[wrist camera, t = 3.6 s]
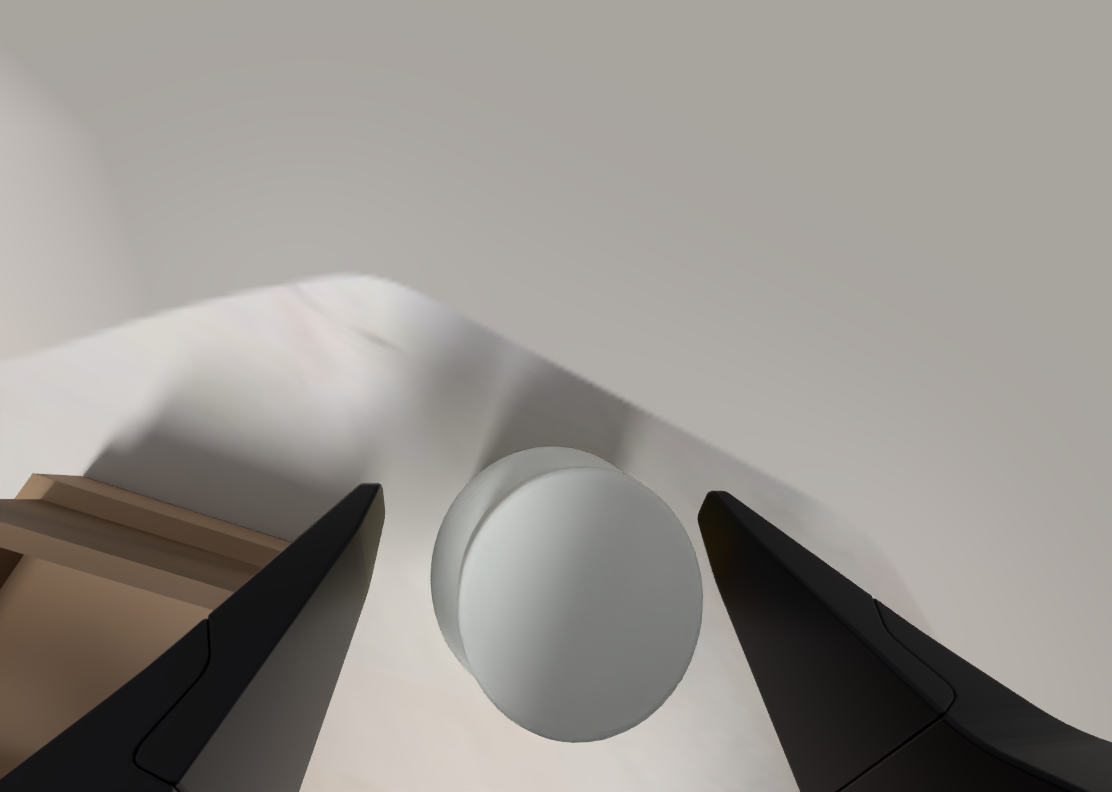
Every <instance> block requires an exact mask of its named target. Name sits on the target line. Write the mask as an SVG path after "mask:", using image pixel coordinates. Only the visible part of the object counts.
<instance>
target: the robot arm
mask: <svg viewBox="0 0 1112 792" xmlns="http://www.w3.org/2000/svg"><path fill="white" fill-rule="evenodd" d="M384 519H385V505H384V496H383V488H382V485H381V484H379V483H361V484H359V485H358V486H357V487H356V488H355V489H353V490H352V491H351V492H350V493H349V494H348V495H346V496H345V497H344V498H343V499H342V500H341V501H339V502H338V503H337V504H336V505H335V506H334V507H333V508H331V509H330V510H329V511H328V512H327V513H326V514H324V515H323V516H322V517H321V518H320V519H319V520H317V521H316V522H315V523H314V524H313V525H312V526H311V527H309V528H308V529H307V530H306V531H305V532H304V533H302V534H301V535H300V536H299V537H298V538H297V539H295V540H294V541H293V542H292V543H291V544H290V545H288V546H287V547H286V548H285V549H284V550H283V551H282V552H280V553H279V554H278V555H277V556H276V557H275V558H273V559H272V560H271V561H270V562H269V563H268V564H266V565H265V566H264V567H263V568H262V569H261V570H259V571H258V572H257V573H256V574H255V575H254V576H253V577H251V578H250V579H249V580H248V581H247V582H246V583H244V584H243V585H242V586H241V587H240V588H239V589H237V590H236V591H235V592H234V593H233V594H232V595H231V596H229V597H228V598H227V599H226V600H225V601H224V602H222V603H221V604H220V605H219V606H218V607H217V608H215V609H214V610H213V611H212V612H211V613H210V614H209V615H208V619H206V618H205V619H203V620H201V621H200V622H199V623H198V624H197V625H195V626H194V627H193V628H192V629H191V630H190V631H189V632H187V633H186V634H185V635H184V636H183V637H182V638H180V639H179V640H178V641H177V642H176V643H174V644H173V645H172V646H171V647H170V648H168V649H167V650H166V651H165V652H164V653H162V654H161V655H160V656H159V657H158V658H156V659H155V660H154V661H153V662H152V663H150V664H149V665H148V666H147V667H146V668H144V669H143V670H142V671H141V672H139V673H138V674H137V675H135V676H134V677H133V678H132V679H130V680H129V681H128V682H126V683H125V684H124V685H123V686H121V687H120V688H119V689H118V690H116V691H115V692H114V693H112V694H111V695H110V696H109V697H107V698H106V699H105V700H103V701H102V702H101V703H100V704H98V705H97V706H96V707H94V708H93V709H92V710H90V711H89V712H88V713H87V714H85V715H84V716H83V717H81V718H80V719H79V720H77V721H76V722H75V723H73V724H72V725H71V726H69V727H68V728H67V729H65V730H64V731H63V732H61V733H60V734H59V735H58V736H56V737H55V738H54V739H52V740H51V741H50V742H48V743H47V744H46V745H44V746H43V747H42V748H40V749H39V750H38V751H36V752H35V753H34V754H32V755H31V756H30V757H29V758H27V759H26V760H25V761H23V762H22V763H21V764H19V765H18V766H17V767H15V768H14V769H13V770H11V771H10V772H9V773H7V774H6V775H5V776H3V777H2V778H1V779H0V792H299V790H300V787H301V784H302V781H303V779H304V776H305V773H306V770H307V767H308V764H309V761H310V758H311V755H312V753H313V750H314V747H315V744H316V741H317V738H318V735H319V732H320V729H321V727H322V724H323V721H324V718H325V715H326V712H327V709H328V706H329V703H330V701H331V698H332V695H333V692H334V689H335V686H336V683H337V680H338V677H339V675H340V672H341V669H342V666H343V663H344V660H345V657H346V654H347V651H348V649H349V646H350V643H351V640H352V637H353V634H354V631H355V628H356V625H357V623H358V620H359V617H360V614H361V611H362V608H363V605H364V602H365V599H366V596H367V593H368V590H369V586H370V582H371V578H372V574H373V569H374V564H375V560H376V555H377V551H378V546H379V542H380V537H381V533H382V528H383V524H384ZM698 524H699V528H700V531H701V535H702V538H703V542H704V545H705V548H706V552H707V555H708V559H709V562H710V565H711V569H712V572H713V575H714V578H715V581H716V584H717V587H718V589H719V592H720V594H721V597H722V599H723V602H724V604H725V607H726V609H727V612H728V614H729V617H730V619H731V622H732V624H733V627H734V629H735V632H736V634H737V637H738V639H739V641H740V644H741V646H742V649H743V651H744V654H745V656H746V659H747V661H748V664H749V666H750V669H751V671H752V674H753V676H754V679H755V681H756V684H757V686H758V689H759V691H760V693H761V696H762V698H763V701H764V703H765V706H766V708H767V711H768V713H769V716H770V718H771V721H772V723H773V726H774V728H775V731H776V733H777V736H778V738H779V740H780V743H781V745H782V748H783V750H784V753H785V755H786V758H787V760H788V763H789V765H790V768H791V770H792V773H793V775H794V778H795V780H796V783H797V785H798V788H799V790H800V792H1112V742H1109V741H1106V740H1103V739H1100V738H1098V737H1095V736H1093V735H1090V734H1088V733H1085V732H1083V731H1081V730H1079V729H1076V728H1074V727H1072V726H1070V725H1068V724H1065V723H1064V722H1062V721H1060V720H1058V719H1057V718H1055V717H1053V716H1051V715H1049V714H1048V713H1046V712H1044V711H1043V710H1041V709H1040V708H1038V707H1036V706H1035V705H1033V704H1032V703H1030V702H1029V701H1027V700H1026V699H1024V698H1022V697H1021V696H1019V695H1018V694H1016V693H1015V692H1013V691H1012V690H1010V689H1009V688H1007V687H1005V686H1004V685H1002V684H1001V683H999V682H998V681H996V680H995V679H993V678H992V677H990V676H989V675H987V674H986V673H984V672H982V671H981V670H979V669H978V668H976V667H975V666H973V665H972V664H970V663H969V662H967V661H966V660H964V659H962V658H961V657H959V656H958V655H956V654H955V653H953V652H952V651H950V650H949V649H947V648H946V647H944V646H943V645H941V644H940V643H938V642H937V641H935V640H934V639H932V638H931V637H929V636H928V635H926V634H925V633H923V632H922V631H920V630H919V629H918V628H916V627H915V626H913V625H912V624H910V623H909V622H908V621H906V620H905V619H903V618H902V617H900V616H899V615H898V614H896V613H895V612H893V611H892V610H891V609H889V608H888V607H886V606H885V605H884V604H882V603H881V602H880V601H878V600H877V599H873V598H872V596H871V595H870V594H868V593H867V592H866V591H864V590H863V589H861V588H860V587H859V586H857V585H856V584H854V583H853V582H852V581H850V580H849V579H847V578H846V577H845V576H843V575H842V574H840V573H839V572H838V571H836V570H835V569H834V568H832V567H831V566H829V565H828V564H827V563H825V562H824V561H822V560H821V559H820V558H818V557H817V556H815V555H814V554H813V553H811V552H810V551H809V550H807V549H806V548H804V547H803V546H802V545H800V544H799V543H797V542H796V541H795V540H793V539H792V538H790V537H789V536H788V535H786V534H785V533H784V532H782V531H781V530H779V529H778V528H777V527H775V526H774V525H772V524H771V523H770V522H768V521H767V520H765V519H764V518H763V517H761V516H760V515H758V514H757V513H756V512H754V511H753V510H752V509H750V508H749V507H747V506H746V505H745V504H743V503H742V502H740V501H739V500H738V499H736V498H735V497H733V496H732V495H731V494H729V493H728V492H726V491H710V492H708V493H707V495H706V497H705V499H704V502H703V504H702V506H701V508H700V511H699V513H698Z"/></svg>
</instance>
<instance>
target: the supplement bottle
mask: <svg viewBox="0 0 1112 792" xmlns="http://www.w3.org/2000/svg"><path fill="white" fill-rule="evenodd" d="M431 592H432V601H433V606H434V611H435V615H436V618H437V621H438V624H439V627H440V630H441V632H442V634H443V636H444V639H445V641H446V643H447V644H448V646H449V648H450V649H451V651H452V652H453V654H454V655H455V657H456V658H457V659H458V661H459V662H460V663H461V664H462V666H463V667H464V668H465V669H466V670H467V671H468V672H469V673H470V674H471V675H473V676H474V677H475V678H476V680H477V682H478V683H479V685H480V687H481V688H482V690H483V691H484V693H485V694H486V695H487V697H488V698H489V699H490V700H491V702H492V703H493V704H494V705H495V706H496V707H497V708H498V709H499V710H500V711H501V712H502V713H503V714H504V715H505V716H506V717H508V718H509V719H510V720H512V721H513V722H515V723H516V724H518V725H519V726H521V727H523V728H525V729H527V730H528V731H530V732H533V733H535V734H537V735H539V736H542V737H545V738H548V739H551V740H556V741H562V742H572V743H575V742H592V741H598V740H603V739H607V738H610V737H612V736H615V735H618V734H620V733H623V732H626V731H627V730H629V729H631V728H633V727H635V726H636V725H638V724H639V723H641V722H642V721H644V720H646V719H647V718H648V717H649V716H650V715H651V714H653V713H654V712H655V711H656V710H657V709H658V708H659V707H660V706H661V705H663V703H664V702H665V701H666V700H667V698H668V697H669V696H670V695H671V694H672V693H673V691H674V690H675V688H676V687H677V685H678V684H679V683H680V681H681V680H682V678H683V676H684V674H685V672H686V670H687V668H688V666H689V664H690V662H691V659H692V656H693V653H694V650H695V647H696V644H697V640H698V637H699V632H700V627H701V621H702V601H703V594H702V580H701V574H700V569H699V565H698V561H697V557H696V554H695V551H694V548H693V546H692V544H691V541H690V539H689V537H688V535H687V533H686V531H685V529H684V527H683V525H682V524H681V522H680V521H679V519H678V518H677V516H676V515H675V514H674V513H673V511H672V510H671V509H670V508H669V507H668V505H667V504H666V503H665V502H664V501H663V500H662V499H661V498H660V497H659V496H658V495H657V494H656V493H654V492H653V491H652V490H650V489H649V488H647V487H646V486H644V485H643V484H641V483H640V482H638V481H637V480H635V479H633V478H631V477H628V476H626V475H625V474H624V473H623V472H622V471H620V470H619V469H618V468H616V467H615V466H614V465H612V464H610V463H609V462H607V461H606V460H604V459H602V458H600V457H598V456H596V455H593V454H591V453H588V452H585V451H582V450H578V449H573V448H568V447H557V446H549V447H536V448H531V449H526V450H522V451H519V452H516V453H513V454H511V455H508V456H506V457H504V458H502V459H499V460H498V461H496V462H494V463H493V464H491V465H489V466H488V467H486V468H485V469H484V470H482V471H481V472H480V473H479V474H477V475H476V476H475V477H474V478H473V479H472V480H471V481H470V482H469V483H468V484H467V485H466V486H465V487H464V488H463V490H462V491H461V492H460V493H459V494H458V496H457V497H456V499H455V500H454V502H453V503H452V505H451V506H450V508H449V510H448V512H447V514H446V515H445V517H444V520H443V522H442V524H441V527H440V529H439V532H438V535H437V538H436V542H435V546H434V550H433V555H432V563H431Z"/></svg>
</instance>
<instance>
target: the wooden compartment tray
mask: <svg viewBox="0 0 1112 792" xmlns="http://www.w3.org/2000/svg"><path fill="white" fill-rule="evenodd" d="M291 543H292V542H288V541H285V540H282V539H279V538H276V537H273V536H269V535H266V534H263V533H260V532H257V531H253V530H250V529H247V528H244V527H241V526H238V525H234V524H231V523H228V522H225V521H222V520H219V519H215V518H212V517H209V516H206V515H203V514H200V513H196V512H193V511H190V510H187V509H184V508H181V507H177V506H174V505H171V504H168V503H165V502H162V501H158V500H155V499H152V498H149V497H146V496H143V495H139V494H136V493H133V492H130V491H127V490H124V489H120V488H117V487H114V486H111V485H108V484H105V483H101V482H98V481H95V480H92V479H89V478H85V477H82V476H69V475H50V474H32V475H31V477H30V478H29V479H28V481H27V482H26V484H25V485H24V486H23V488H22V489H21V491H20V492H19V493H18V495H17V496H16V498H15V499H0V779H1V778H2V777H3V776H5V775H6V774H7V773H9V772H10V771H11V770H13V769H14V768H15V767H17V766H18V765H19V764H21V763H22V762H23V761H25V760H26V759H27V758H29V757H30V756H31V755H32V754H34V753H35V752H36V751H38V750H39V749H40V748H42V747H43V746H44V745H46V744H47V743H48V742H50V741H51V740H52V739H54V738H55V737H56V736H58V735H59V734H60V733H61V732H63V731H64V730H65V729H67V728H68V727H69V726H71V725H72V724H73V723H75V722H76V721H77V720H79V719H80V718H81V717H83V716H84V715H85V714H87V713H88V712H89V711H90V710H92V709H93V708H94V707H96V706H97V705H98V704H100V703H101V702H102V701H103V700H105V699H106V698H107V697H109V696H110V695H111V694H112V693H114V692H115V691H116V690H118V689H119V688H120V687H121V686H123V685H124V684H125V683H126V682H128V681H129V680H130V679H132V678H133V677H134V676H135V675H137V674H138V673H139V672H141V671H142V670H143V669H144V668H146V667H147V666H148V665H149V664H150V663H152V662H153V661H154V660H155V659H156V658H158V657H159V656H160V655H161V654H162V653H164V652H165V651H166V650H167V649H168V648H170V647H171V646H172V645H173V644H174V643H176V642H177V641H178V640H179V639H180V638H182V637H183V636H184V635H185V634H186V633H187V632H189V631H190V630H191V629H192V628H193V627H194V626H195V625H197V624H198V623H199V622H200V621H201V620H203V619H205V618H206V619H208V615H209V614H210V613H211V612H212V611H213V610H214V609H215V608H217V607H218V606H219V605H220V604H221V603H222V602H224V601H225V600H226V599H227V598H228V597H229V596H231V595H232V594H233V593H234V592H235V591H236V590H237V589H239V588H240V587H241V586H242V585H243V584H244V583H246V582H247V581H248V580H249V579H250V578H251V577H253V576H254V575H255V574H256V573H257V572H258V571H259V570H261V569H262V568H263V567H264V566H265V565H266V564H268V563H269V562H270V561H271V560H272V559H273V558H275V557H276V556H277V555H278V554H279V553H280V552H282V551H283V550H284V549H285V548H286V547H287V546H288V545H290V544H291Z"/></svg>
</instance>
